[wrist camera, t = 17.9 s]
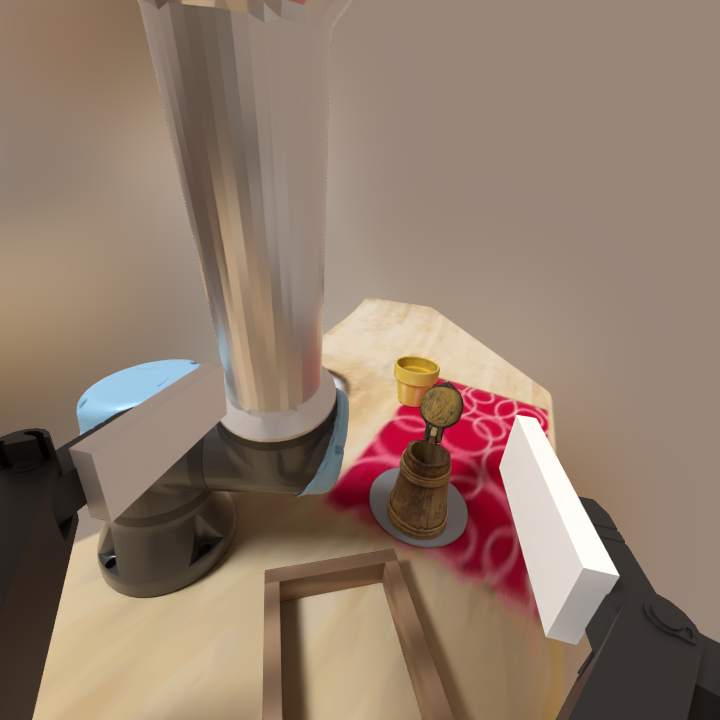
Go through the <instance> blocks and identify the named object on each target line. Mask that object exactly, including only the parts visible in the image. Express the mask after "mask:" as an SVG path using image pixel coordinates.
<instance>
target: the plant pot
mask: <svg viewBox="0 0 720 720" xmlns="http://www.w3.org/2000/svg"><path fill="white" fill-rule="evenodd" d="M439 371H440V367H439V365H438V364H437V363H436V362H435V361H433V360H430V359H428V358H424V357H420V356H403V357H400V358H398V359H397V360H396V361H395V368H394V376H395V377H396V379H397V389H398V399H399V401H400V402H401V403H402V404H404V405H406V406H410V407H420V406H421V402H422V398H423V396H424V394H425V392H426V391H427V390H428V389H429V388H431V387H433V384H435V383H436V382H437V380H438V376H439Z"/></svg>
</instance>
